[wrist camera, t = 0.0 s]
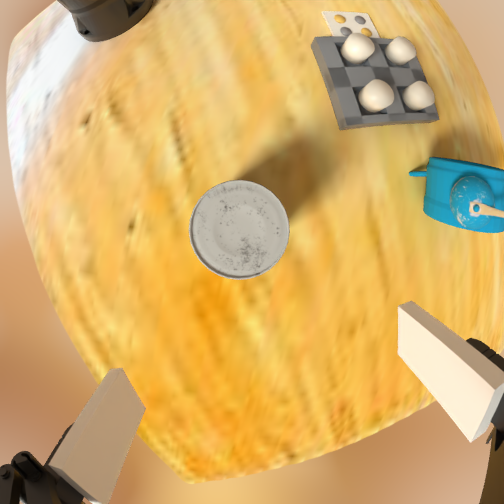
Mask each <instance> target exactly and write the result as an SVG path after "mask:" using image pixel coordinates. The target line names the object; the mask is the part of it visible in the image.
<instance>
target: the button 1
mask: <svg viewBox="0 0 504 504" xmlns="http://www.w3.org/2000/svg"><path fill="white" fill-rule="evenodd" d="M374 50H375V46H374V44H373V42H372V41H371V39H370V38H368V37H367V36H366V35H364V34H361V33H352V34H350V35H349V37H348V38H347V40H346V41H345V42H344V44H343V45H342V47H341V54H342V55H343V57H344V58H345V59H346V60H347V61H349V62H350V63H353V64H362V63H363V62H364V61H365V60H366V59H367V58H368V57H369V56H370V55H371V54H372V53H373V52H374Z"/></svg>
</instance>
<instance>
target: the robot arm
mask: <svg viewBox="0 0 504 504" xmlns="http://www.w3.org/2000/svg"><path fill="white" fill-rule="evenodd" d="M57 1H58V2H59V3H61V4H62V5H63V6H64V7H65V8H66V9H68V10H69V11H70V12H71V13H72V16H73V19H74V22H75V25H76V28H77V31H78V33H79V34H80V35H81V36H82V37H84V38H85V39H86V40H88V41H92V42H99V41H104V40H108V39H111V38H113V37H116V36H118V35H120V34H122V33H123V32H125V31H127V30H128V29H130V28H131V27H132V26H134V25H135V24H136V23H137V22H139V21H140V20H141V19H142V18H143V17H144V16H145V14H146V13H147V12H148V10H149V9H150V7H151V5H152V3H153V0H57ZM398 355H399V356H400V357H401V358H402V359H403V360H404V362H405V363H406V364H407V365H408V366H409V367H410V369H411V370H412V371H413V372H414V373H415V374H416V376H417V377H418V378H419V379H420V380H421V382H422V383H423V384H424V385H425V386H426V388H427V389H428V390H429V391H430V392H431V394H432V395H433V396H434V397H435V398H436V400H437V401H438V402H439V403H440V404H441V406H442V407H443V408H444V410H445V411H446V412H447V413H448V414H449V416H450V417H451V418H452V419H453V421H454V422H455V423H456V425H457V426H458V427H459V428H460V430H461V431H462V432H463V434H464V435H465V436H466V438H467V439H468V440H469V441H470V442H472V441H474V440H475V439H476V438H478V437H479V436H480V435H482V434H483V433H484V432H485V431H486V430H487V428H488V426H489V424H490V422H492V423H493V424H494V428H493V430H492V432H491V433H490V435H489V437H488V439H487V442H486V444H487V443H489V441H490V440H491V438H492V442H491V450H490V457H489V463H488V469H487V474H486V479H485V483H484V488H483V492H482V496H481V499H480V503H479V504H504V358H503V357H501V356H500V355H499V354H496V352H495V351H494V350H492V349H490V347H488V346H487V345H486V344H484V343H483V342H482V341H479V340H476V339H473V338H469V339H468V340H466V341H465V340H464V339H462V338H461V337H460V336H458V335H457V334H456V333H455V332H453V331H452V330H451V329H449V328H448V327H447V326H445V325H444V324H443V323H441V322H440V321H439V320H437V319H436V318H435V317H433V316H432V315H430V314H429V313H428V312H426V311H425V310H424V309H422V308H421V307H419V306H418V305H417V304H415V303H414V302H412V301H410V302H407V303H404V304H402V305H399V306H398ZM145 409H146V408H145V406H144V405H143V403H142V402H141V400H140V398H139V397H138V395H137V393H136V392H135V390H134V388H133V386H132V385H131V383H130V381H129V379H128V378H127V376H126V374H125V372H124V370H123V368H117V369H110V370H109V372H108V373H107V375H106V376H105V377H104V379H103V380H102V382H101V383H100V385H99V386H98V388H97V389H96V391H95V392H94V394H93V395H92V396H91V398H90V400H89V401H88V402H87V404H86V406H85V407H84V409H83V410H82V412H81V413H80V415H79V416H78V418H77V419H76V421H75V422H74V423H73V424H72V425H71V426H70V427H68V428H67V430H66V431H65V432H64V434H63V435H62V438H61V439H60V440H59V442H58V444H57V445H56V447H55V448H54V450H53V451H52V453H51V455H50V456H49V458H48V460H47V461H46V463H45V465H44V466H42V465H41V464H40V463H39V462H38V461H37V460H36V458H35V457H34V456H33V455H32V454H31V453H30V452H28V451H22V452H19V453H18V454H16V455H15V456H14V457H13V459H12V461H11V464H5V465H3V466H1V467H0V504H19V502H20V501H21V502H22V503H23V504H85V503H84V502H83V501H82V500H83V498H84V497H85V498H86V499H87V500H89V501H90V502H91V503H93V504H109V501H110V498H111V496H112V493H113V490H114V487H115V484H116V482H117V479H118V477H119V474H120V471H121V469H122V466H123V464H124V461H125V458H126V456H127V453H128V451H129V448H130V446H131V443H132V441H133V438H134V436H135V433H136V431H137V428H138V426H139V424H140V421H141V419H142V416H143V414H144V412H145Z"/></svg>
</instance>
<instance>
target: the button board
mask: <svg viewBox="0 0 504 504" xmlns="http://www.w3.org/2000/svg"><path fill="white" fill-rule="evenodd" d="M347 38H348V36H330V37H315V38H314V40H313V42H312V44H311V48H312V50H313V53H314V55H315V58H316V60H317V63H318V66H319V68H320V71H321V74H322V77H323V79H324V82H325V85H326V88H327V91H328V94H329V97H330V100H331V103H332V106H333V109H334V112H335V116H336V119H337V122H338V126H339V129H340V130H346V129H354V128H362V127H372V126H383V125H395V124H412V123H430V122H434V121H437V120H439V116H438V113H437V110H436V106H435V103H433V104H432V105H430V106H428V107H425V108H423V109H421V110H418V111H414V110H412V109H410V108H409V107H408V106H407V105H406V104H405V102H404V100H403V97H402V92H403V90H404V89H405V88H406V87H408V86H410V85H411V84H413V83H415V82H417V81H423V82H425V83H426V84H428V83H427V81H426V78H425V76H424V73H423V71H422V68H421V66H420V63H419V61H418V59H417V57H416V56H415V57H414V58H412V59H411V60H410V61H408V62H407V63H405V64H404V65H402V66H399V65H396V64H394V63H392V62H391V61H390V60H389V59H388V58H387V56H386V54H385V48H386V46H387V45H389V44H390V43H391V42H392V41H393V40H394V39H384V38H372V37H368V38H370V39H371V41H372V42H373V44H374V46H375V50H374V52H373V53H372V54H371V55H370V56H369V57H368V58H367V59H366V60H365V61H364V62H363V63H362V64H353V63H350V62H349V61H347V60H346V59H345V58H344V57H343V55H342V54H341V47H342V45H343V44H344V42H345V41H346V40H347ZM375 79H379V80H382V81H384V82H386V83H387V84H388V85H389V86H390V87H391V88H392V90H393V93H394V101H393V103H392V104H391V105H389V106H387V107H386V108H384V109H382V110H380V111H379V112H369V111H367V110H366V109H365V108H363V106H362V105H361V104H360V102H359V98H358V95H359V92H360V90H361V89H362V88H364V87H365V86H366V85H367V84H368V83H370V82H371V81H372V80H375Z"/></svg>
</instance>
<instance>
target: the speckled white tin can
mask: <svg viewBox="0 0 504 504" xmlns="http://www.w3.org/2000/svg"><path fill="white" fill-rule="evenodd" d="M289 232H290V231H289V220H288V217H287V213H286V210H285V208H284V207H283V205H282V203H281V201H280V200H279V199H278V198H277V197H276V196H275V195H274V194H273V192H271V191H270V190H268V189H267V188H265V187H264V186H262V185H260V184H257V183H255V182H252V181H245V180H233V181H227V182H224V183H221V184H218V185H216V186H215V187H213V188H211V189H210V190H208V191H207V192H206V193H205V194H204V195H203V196H202V197H201V198H200V199H199V201H198V202H197V204H196V205H195V207H194V209H193V212H192V215H191V218H190V224H189V235H190V242H191V245H192V248H193V250H194V252H195V254H196V256H197V257H198V259H199V260H200V262H201V263H203V264H204V265H205V266H206V267H207V268H208V269H209V270H211V271H212V272H214V273H215V274H217V275H220V276H222V277H225V278H229V279H237V280H240V279H250V278H253V277H256V276H259V275H261V274H263V273H265V272H266V271H268V270H270V269H271V268H272V267H273V266H274V265H275V264H276V263H277V262H278V261H279V259H280V258H281V256H282V255H283V254H284V251H285V249H286V246H287V244H288V239H289Z"/></svg>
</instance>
